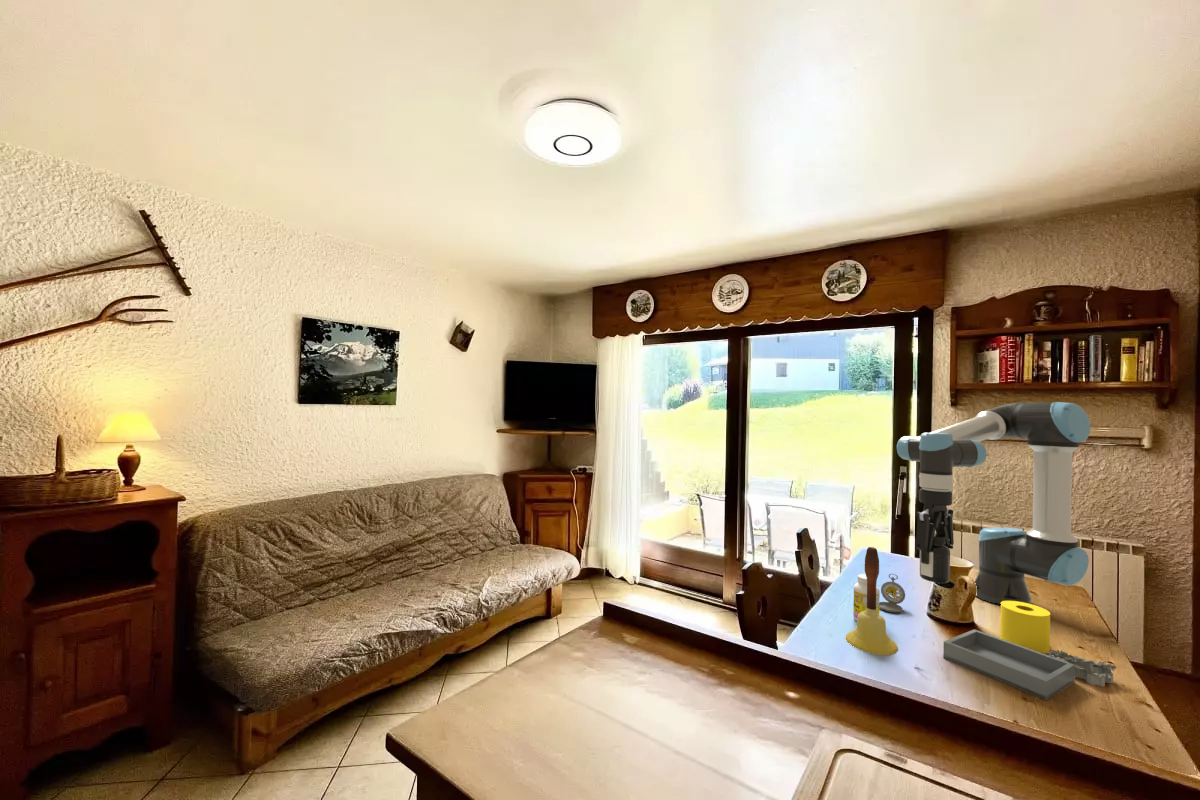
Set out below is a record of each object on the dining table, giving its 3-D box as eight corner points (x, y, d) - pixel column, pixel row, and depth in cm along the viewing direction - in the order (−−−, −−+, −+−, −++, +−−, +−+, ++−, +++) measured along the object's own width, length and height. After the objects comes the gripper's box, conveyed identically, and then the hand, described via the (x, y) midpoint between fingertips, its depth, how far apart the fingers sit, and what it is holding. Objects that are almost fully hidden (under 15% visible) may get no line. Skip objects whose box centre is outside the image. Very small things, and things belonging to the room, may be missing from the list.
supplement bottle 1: (851, 614, 148) (852, 571, 148) (876, 618, 145) (877, 574, 145) (855, 623, 141) (855, 578, 141) (881, 627, 139) (881, 582, 139)
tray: (973, 644, 130) (974, 629, 130) (1074, 682, 112) (1074, 664, 112) (943, 657, 123) (943, 641, 123) (1046, 700, 105) (1046, 681, 105)
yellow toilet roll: (1016, 633, 137) (1017, 599, 137) (1059, 650, 128) (1059, 613, 128) (991, 637, 134) (991, 602, 134) (1032, 655, 125) (1033, 618, 125)
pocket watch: (882, 612, 149) (882, 579, 150) (872, 602, 158) (872, 570, 158) (911, 615, 148) (912, 581, 148) (900, 604, 156) (900, 572, 156)
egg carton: (1119, 685, 112) (1119, 666, 112) (1097, 689, 110) (1097, 671, 110) (1064, 661, 123) (1064, 644, 123) (1042, 664, 120) (1042, 648, 121)
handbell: (842, 629, 137) (843, 539, 138) (892, 637, 133) (893, 544, 134) (848, 649, 126) (849, 551, 126) (903, 659, 122) (904, 557, 122)
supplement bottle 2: (933, 574, 139) (934, 531, 139) (956, 582, 132) (956, 537, 132) (913, 575, 137) (913, 532, 137) (935, 584, 131) (935, 538, 131)
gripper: (940, 484, 143) (939, 564, 143) (900, 489, 134) (899, 574, 133) (969, 488, 136) (969, 572, 136) (929, 493, 127) (928, 583, 127)
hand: (934, 573), depth 135 cm, fingers closed on supplement bottle 2, 7 cm apart
